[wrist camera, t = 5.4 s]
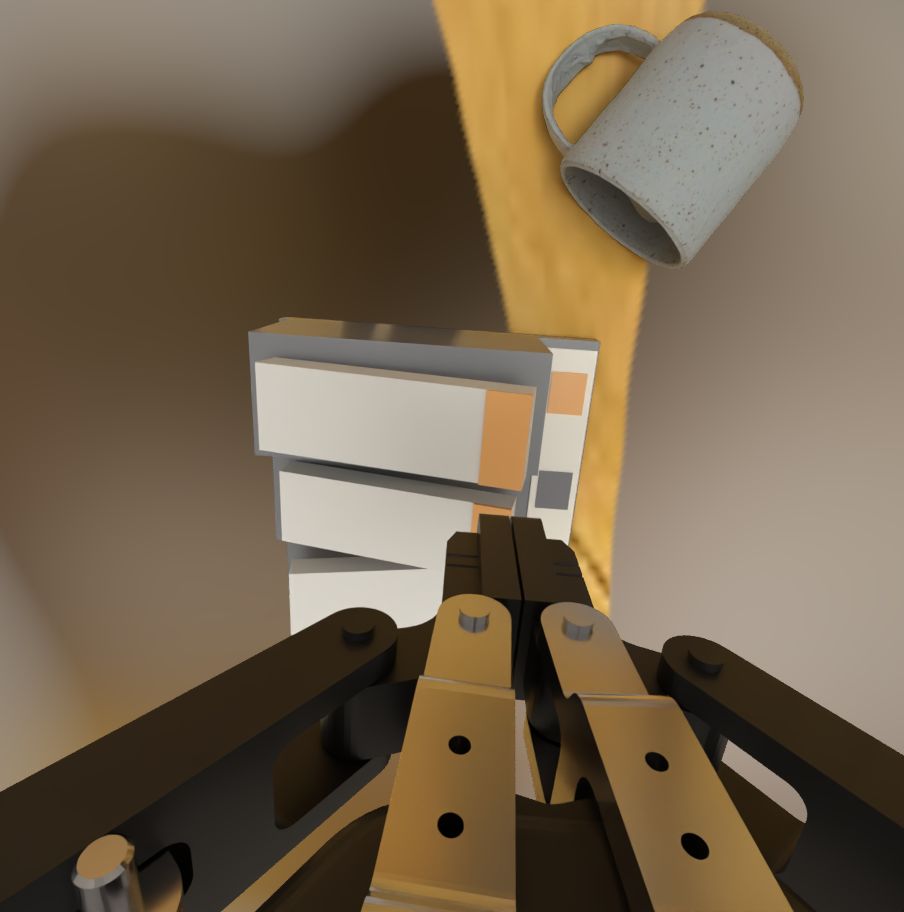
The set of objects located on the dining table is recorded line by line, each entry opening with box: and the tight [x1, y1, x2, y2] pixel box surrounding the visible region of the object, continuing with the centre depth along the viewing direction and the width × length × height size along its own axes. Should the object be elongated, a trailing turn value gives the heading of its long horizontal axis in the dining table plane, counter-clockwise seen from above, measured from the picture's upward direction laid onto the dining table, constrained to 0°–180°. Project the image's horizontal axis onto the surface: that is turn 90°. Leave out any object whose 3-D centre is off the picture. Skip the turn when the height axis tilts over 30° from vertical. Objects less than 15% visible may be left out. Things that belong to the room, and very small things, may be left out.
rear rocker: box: [289, 557, 444, 635], centre depth 33 cm, size 4×12×2 cm, turn 86°
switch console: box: [248, 317, 600, 595], centre depth 31 cm, size 18×18×8 cm
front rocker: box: [255, 357, 537, 491], centre depth 24 cm, size 4×12×2 cm, turn 86°
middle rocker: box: [279, 461, 517, 572], centre depth 28 cm, size 4×12×2 cm, turn 86°
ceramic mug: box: [542, 12, 804, 269], centre depth 25 cm, size 11×8×8 cm
